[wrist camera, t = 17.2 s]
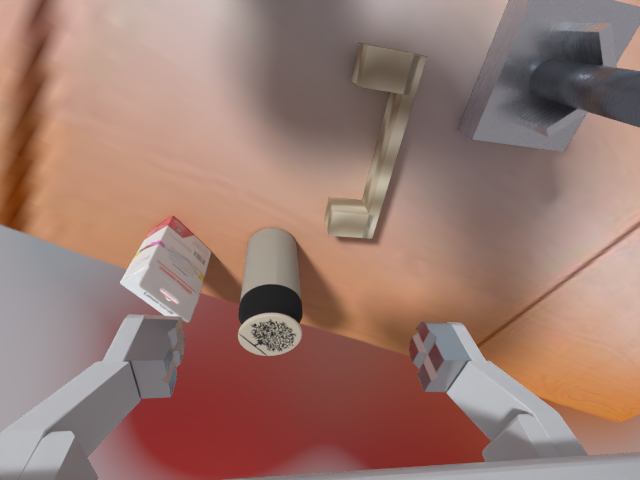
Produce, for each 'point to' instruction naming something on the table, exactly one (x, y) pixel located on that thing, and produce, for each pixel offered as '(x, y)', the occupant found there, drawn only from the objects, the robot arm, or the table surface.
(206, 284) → the table surface
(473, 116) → the v block
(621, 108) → the steel axle
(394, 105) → the notched beam
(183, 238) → the ink cartridge box
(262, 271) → the travel mug
